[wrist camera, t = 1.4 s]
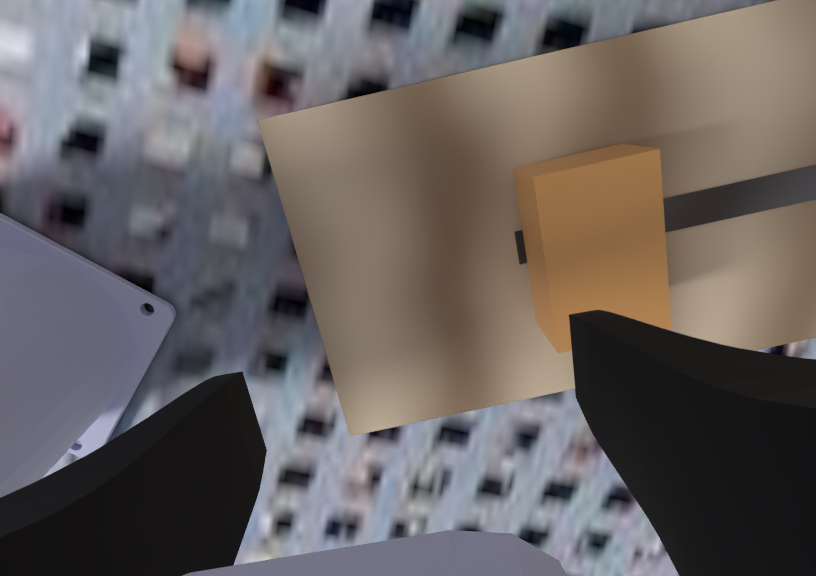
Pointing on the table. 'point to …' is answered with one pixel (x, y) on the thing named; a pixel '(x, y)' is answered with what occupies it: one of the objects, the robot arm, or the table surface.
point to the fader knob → (595, 237)
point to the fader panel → (500, 216)
